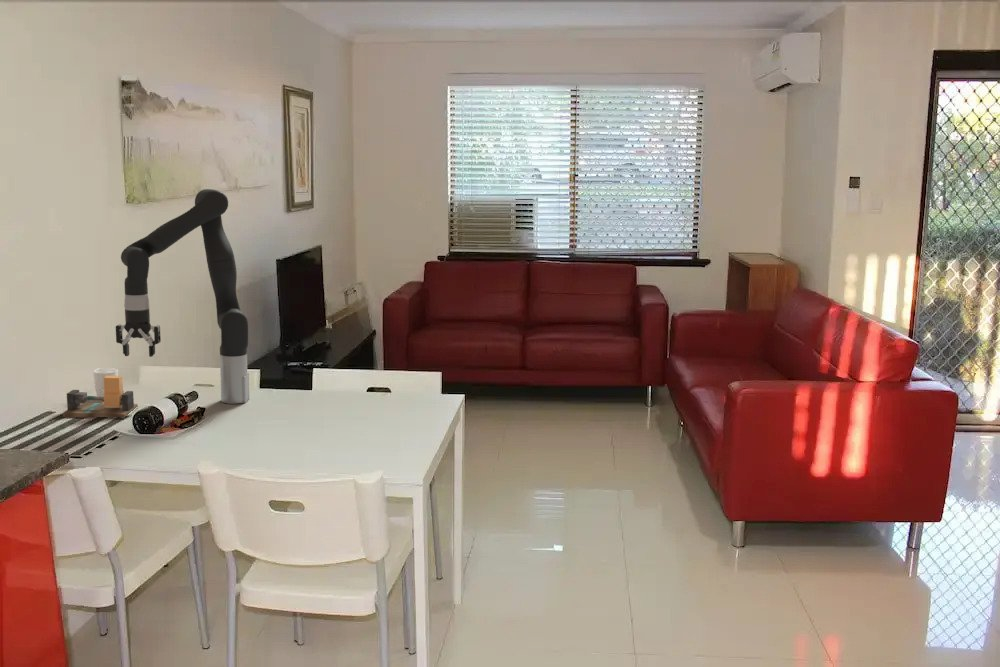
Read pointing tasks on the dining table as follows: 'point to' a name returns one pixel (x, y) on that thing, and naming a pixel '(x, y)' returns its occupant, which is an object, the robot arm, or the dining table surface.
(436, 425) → the dining table surface
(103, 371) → the white cup
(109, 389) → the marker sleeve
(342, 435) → the dining table surface
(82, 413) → the wooden board with posts
